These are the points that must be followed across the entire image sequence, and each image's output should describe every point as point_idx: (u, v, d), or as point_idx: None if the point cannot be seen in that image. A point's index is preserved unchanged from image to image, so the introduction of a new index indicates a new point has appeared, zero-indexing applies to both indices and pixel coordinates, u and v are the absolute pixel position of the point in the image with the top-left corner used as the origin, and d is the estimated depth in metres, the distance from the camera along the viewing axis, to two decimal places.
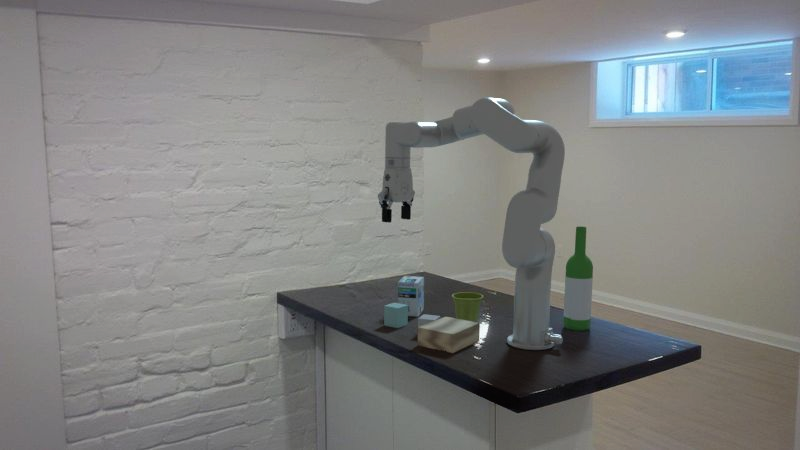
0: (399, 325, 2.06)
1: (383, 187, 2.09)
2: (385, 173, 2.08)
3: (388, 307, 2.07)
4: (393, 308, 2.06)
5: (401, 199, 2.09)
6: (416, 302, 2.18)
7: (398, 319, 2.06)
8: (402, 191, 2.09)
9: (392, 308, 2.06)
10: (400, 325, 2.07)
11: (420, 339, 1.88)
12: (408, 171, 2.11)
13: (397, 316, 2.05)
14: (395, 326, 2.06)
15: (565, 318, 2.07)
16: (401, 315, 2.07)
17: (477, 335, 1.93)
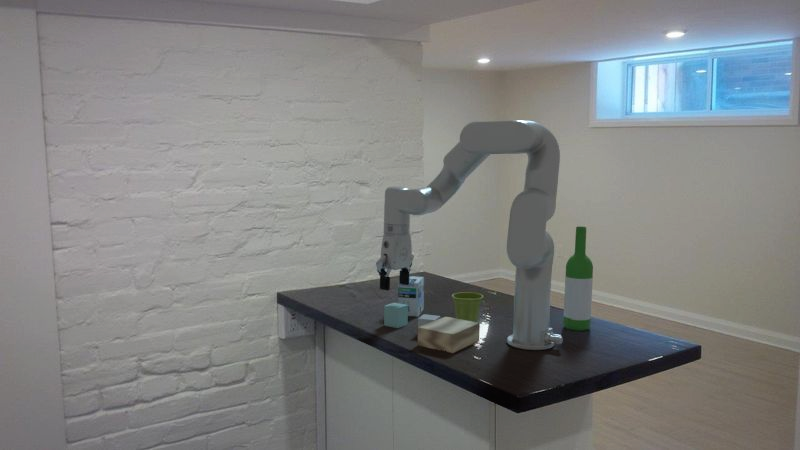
0: (399, 325, 2.06)
1: (381, 254, 2.03)
2: (384, 240, 2.03)
3: (388, 307, 2.07)
4: (393, 308, 2.06)
5: (400, 266, 2.04)
6: (416, 302, 2.18)
7: (398, 319, 2.06)
8: (401, 258, 2.04)
9: (392, 308, 2.06)
10: (400, 325, 2.07)
11: (420, 339, 1.88)
12: (407, 236, 2.06)
13: (397, 316, 2.05)
14: (395, 326, 2.06)
15: (565, 318, 2.07)
16: (401, 315, 2.07)
17: (477, 335, 1.93)
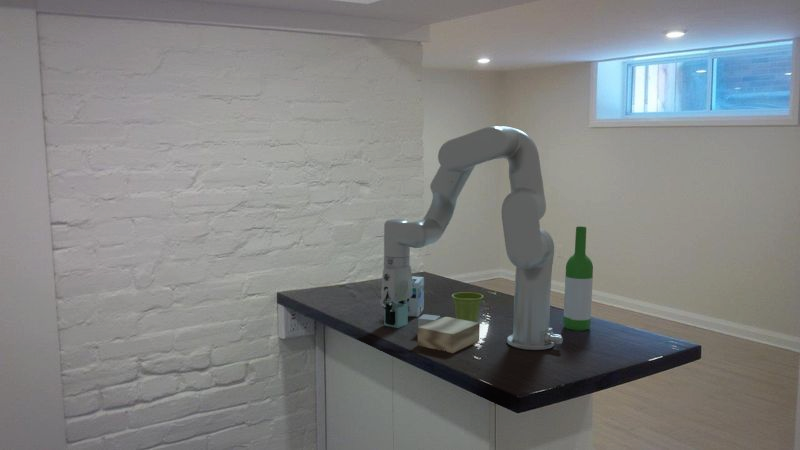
0: (399, 325, 2.06)
1: (382, 287, 2.04)
2: (384, 272, 2.04)
3: None
4: None
5: (400, 298, 2.05)
6: (416, 302, 2.18)
7: (398, 319, 2.06)
8: (402, 290, 2.05)
9: None
10: (400, 325, 2.07)
11: (420, 339, 1.88)
12: (408, 268, 2.07)
13: (397, 316, 2.05)
14: (395, 326, 2.06)
15: (565, 318, 2.07)
16: (401, 315, 2.07)
17: (477, 335, 1.93)
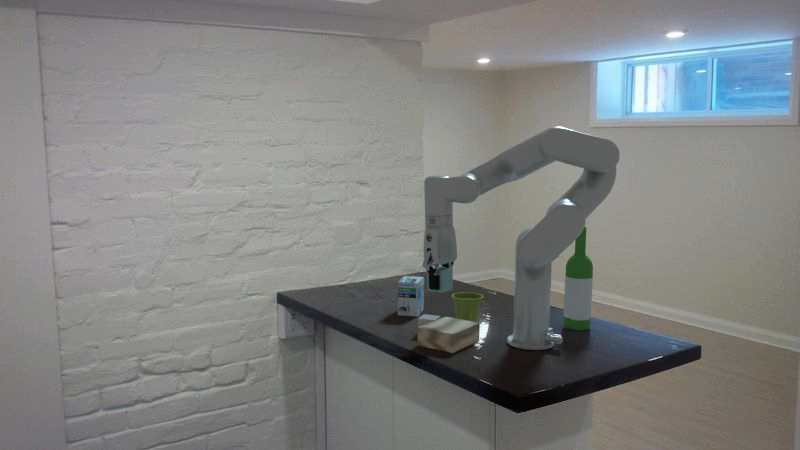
0: (444, 289, 1.91)
1: (424, 248, 1.89)
2: (426, 233, 1.89)
3: None
4: None
5: (445, 261, 1.90)
6: (416, 302, 2.18)
7: (443, 283, 1.90)
8: (446, 252, 1.90)
9: None
10: (445, 289, 1.91)
11: (420, 339, 1.88)
12: (451, 228, 1.92)
13: (442, 280, 1.90)
14: (440, 291, 1.91)
15: (565, 318, 2.07)
16: (446, 279, 1.91)
17: (477, 335, 1.93)
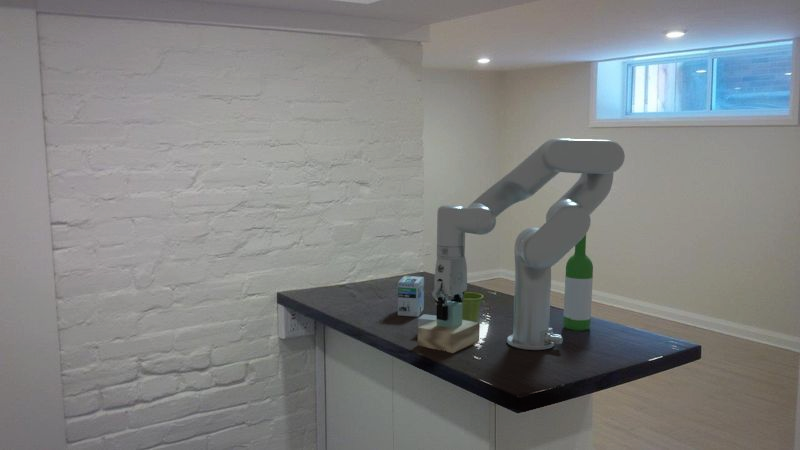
0: (454, 325, 1.88)
1: (436, 279, 1.86)
2: (438, 263, 1.86)
3: None
4: None
5: (455, 292, 1.87)
6: (416, 302, 2.18)
7: (453, 319, 1.87)
8: (457, 283, 1.87)
9: None
10: (455, 325, 1.88)
11: (420, 339, 1.88)
12: (463, 259, 1.89)
13: (452, 315, 1.87)
14: (449, 326, 1.88)
15: (565, 318, 2.07)
16: (456, 314, 1.89)
17: (477, 335, 1.93)
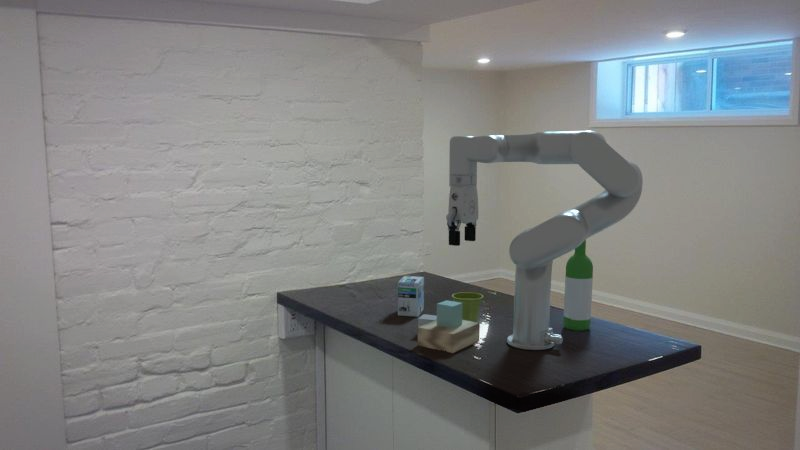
0: (454, 325, 1.88)
1: (450, 207, 1.91)
2: (452, 192, 1.90)
3: (441, 305, 1.89)
4: (447, 306, 1.88)
5: (469, 220, 1.92)
6: (416, 302, 2.18)
7: (453, 319, 1.87)
8: (470, 211, 1.92)
9: (446, 306, 1.88)
10: (455, 325, 1.88)
11: (420, 339, 1.88)
12: (474, 188, 1.94)
13: (452, 315, 1.87)
14: (449, 326, 1.88)
15: (565, 318, 2.07)
16: (456, 314, 1.89)
17: (477, 335, 1.93)
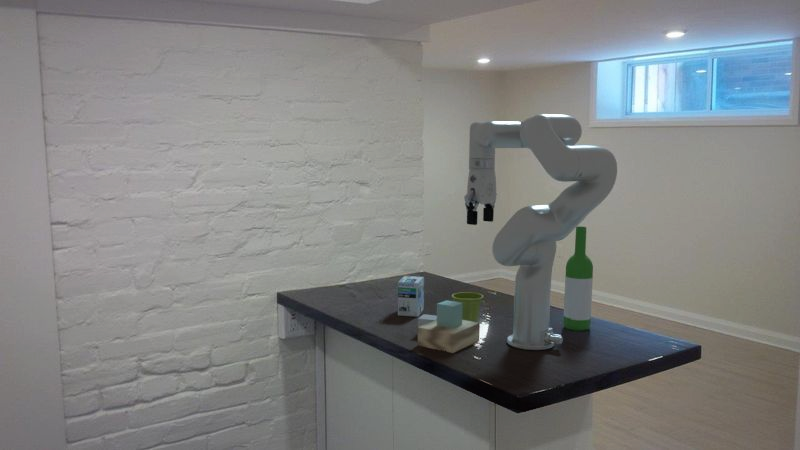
0: (454, 325, 1.88)
1: (468, 189, 2.04)
2: (470, 174, 2.04)
3: (441, 305, 1.89)
4: (447, 306, 1.88)
5: (486, 201, 2.05)
6: (416, 302, 2.18)
7: (453, 319, 1.87)
8: (487, 193, 2.05)
9: (446, 306, 1.88)
10: (455, 325, 1.88)
11: (420, 339, 1.88)
12: (493, 172, 2.07)
13: (452, 315, 1.87)
14: (449, 326, 1.88)
15: (565, 318, 2.07)
16: (456, 314, 1.89)
17: (477, 335, 1.93)
